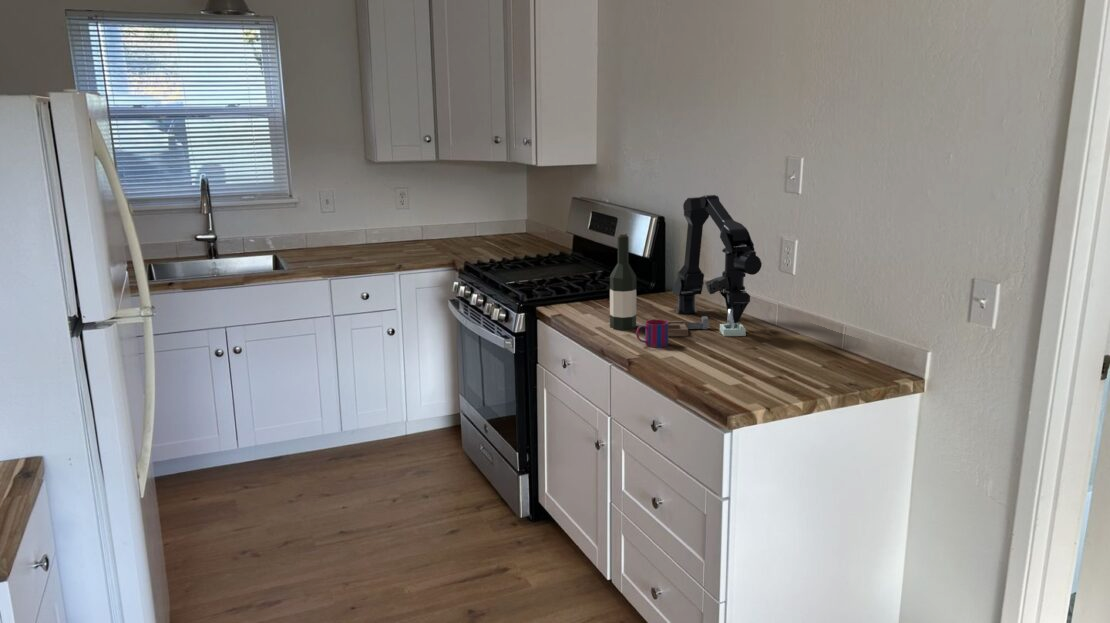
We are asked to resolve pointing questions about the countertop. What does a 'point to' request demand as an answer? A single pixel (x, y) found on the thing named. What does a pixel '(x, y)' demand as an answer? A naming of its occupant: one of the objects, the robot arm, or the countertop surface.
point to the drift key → (697, 324)
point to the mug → (655, 333)
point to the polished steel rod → (731, 320)
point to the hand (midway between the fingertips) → (732, 319)
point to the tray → (732, 330)
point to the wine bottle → (623, 290)
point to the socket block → (677, 329)
